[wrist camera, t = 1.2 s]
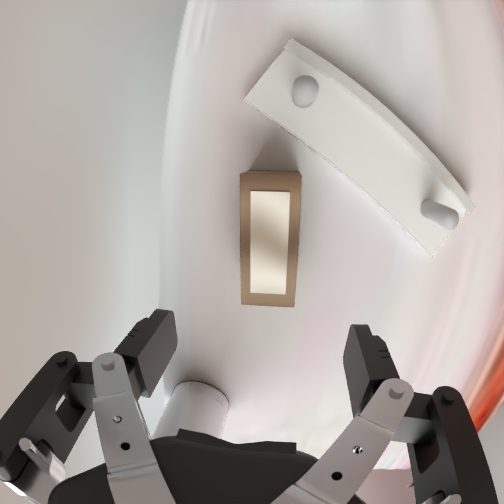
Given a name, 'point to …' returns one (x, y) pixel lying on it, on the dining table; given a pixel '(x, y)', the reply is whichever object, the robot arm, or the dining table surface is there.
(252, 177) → the frame
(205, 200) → the dining table surface
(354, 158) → the board
